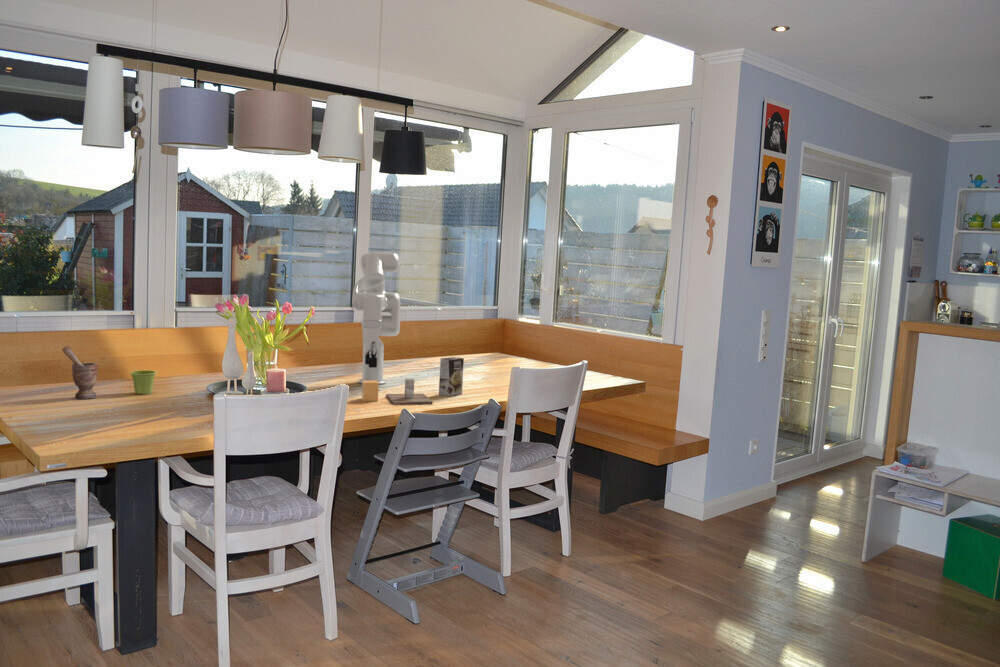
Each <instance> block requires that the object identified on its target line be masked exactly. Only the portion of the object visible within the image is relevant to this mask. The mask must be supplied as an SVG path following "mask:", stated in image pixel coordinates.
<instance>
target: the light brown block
mask: <svg viewBox="0 0 1000 667" xmlns="http://www.w3.org/2000/svg"><path fill="white" fill-rule="evenodd" d="M379 385H380V384H379V383H378V382H377V381H376V380H362V383H361V399H362V401H363V402H378V401H379Z"/></svg>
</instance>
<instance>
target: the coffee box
mask: <svg viewBox="0 0 1000 667" xmlns="http://www.w3.org/2000/svg"><path fill="white" fill-rule="evenodd" d="M464 360H465V359H464V357H463V358H462V357H454V356H451V357H440V364H439V379H438V380H439V384H438V395H442V396H445V397H452V396H453V397H454V396H458V395H462V394H463V386H464V385H463V383H464V382H463V381H464V380H463V379H464V378H463V377H464V365H465V364H464Z"/></svg>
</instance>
